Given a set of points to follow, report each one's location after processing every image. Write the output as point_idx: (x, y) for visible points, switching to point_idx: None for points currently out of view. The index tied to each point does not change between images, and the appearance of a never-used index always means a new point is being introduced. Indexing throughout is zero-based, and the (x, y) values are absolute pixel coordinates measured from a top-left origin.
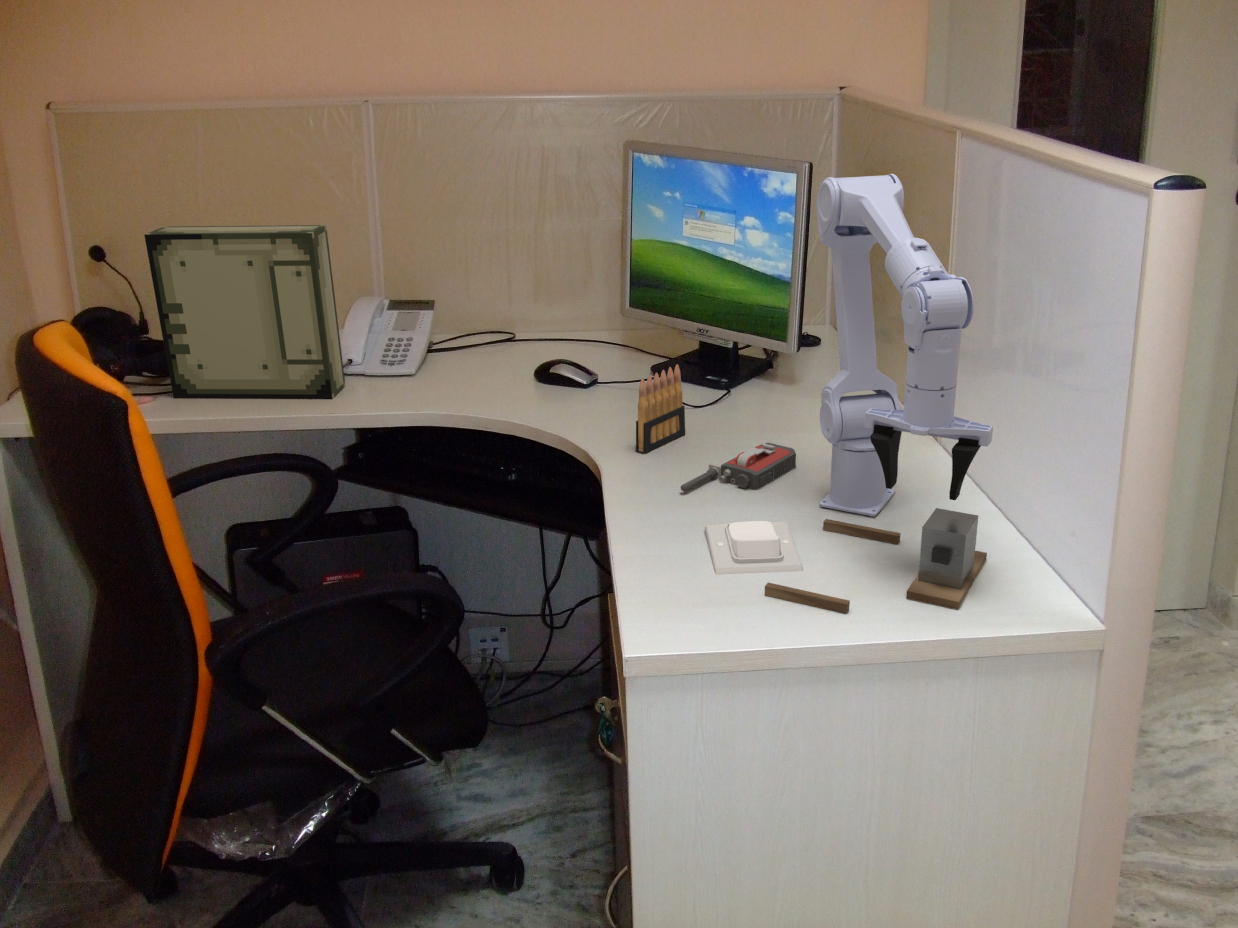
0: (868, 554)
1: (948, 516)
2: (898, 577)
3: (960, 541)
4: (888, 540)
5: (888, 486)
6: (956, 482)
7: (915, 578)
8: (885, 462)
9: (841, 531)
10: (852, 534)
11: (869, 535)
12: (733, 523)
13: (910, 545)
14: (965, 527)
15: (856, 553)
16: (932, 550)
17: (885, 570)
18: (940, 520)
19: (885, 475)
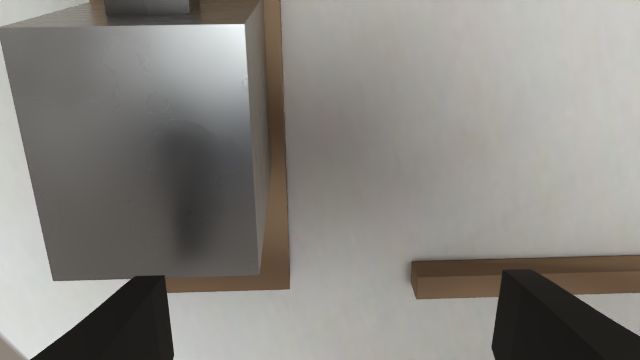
0: (481, 161)
1: (171, 210)
2: (348, 46)
3: (43, 21)
4: (443, 264)
5: (524, 274)
6: (80, 331)
7: (277, 10)
8: (636, 357)
9: (596, 259)
10: (558, 259)
11: (506, 265)
12: None
13: (374, 273)
14: (44, 122)
15: (519, 150)
16: None
17: (402, 76)
18: (188, 147)
19: (577, 301)
